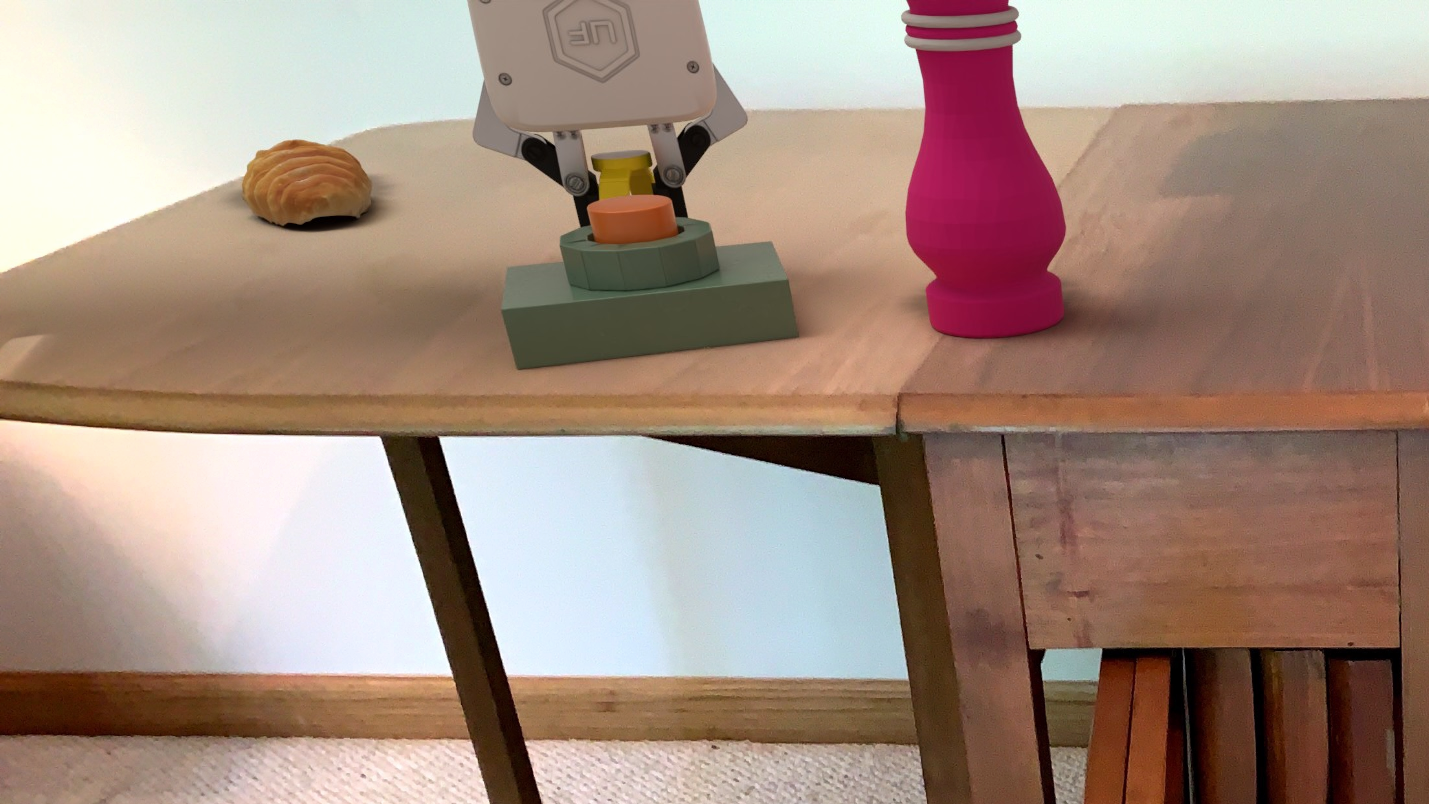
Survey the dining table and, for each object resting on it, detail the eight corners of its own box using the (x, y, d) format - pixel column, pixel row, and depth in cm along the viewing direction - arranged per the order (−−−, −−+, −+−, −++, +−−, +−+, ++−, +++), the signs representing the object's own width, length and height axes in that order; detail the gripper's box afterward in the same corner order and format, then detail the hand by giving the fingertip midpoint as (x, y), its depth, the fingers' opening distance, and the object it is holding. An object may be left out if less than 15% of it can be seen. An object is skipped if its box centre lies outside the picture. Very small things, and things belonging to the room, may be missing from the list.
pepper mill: (913, 308, 83) (843, -162, 72) (1061, 294, 84) (1014, -166, 74) (927, 349, 77) (854, -157, 66) (1087, 332, 78) (1039, -161, 68)
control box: (516, 370, 75) (488, 266, 72) (521, 324, 81) (495, 227, 79) (799, 337, 78) (780, 238, 76) (782, 295, 85) (765, 203, 83)
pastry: (395, 220, 101) (375, 153, 99) (267, 238, 97) (243, 169, 95) (364, 194, 107) (344, 131, 105) (243, 211, 104) (220, 145, 102)
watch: (661, 289, 85) (631, 164, 82) (603, 291, 85) (572, 167, 81) (689, 259, 90) (663, 141, 87) (635, 262, 90) (607, 143, 87)
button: (596, 255, 76) (586, 214, 75) (595, 237, 79) (586, 198, 78) (681, 246, 77) (673, 207, 76) (677, 230, 80) (669, 191, 79)
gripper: (348, -131, 72) (469, 303, 81) (744, -142, 77) (815, 268, 87) (365, -138, 78) (476, 268, 87) (732, -148, 83) (800, 236, 93)
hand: (644, 264), depth 87 cm, fingers closed on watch, 2 cm apart
